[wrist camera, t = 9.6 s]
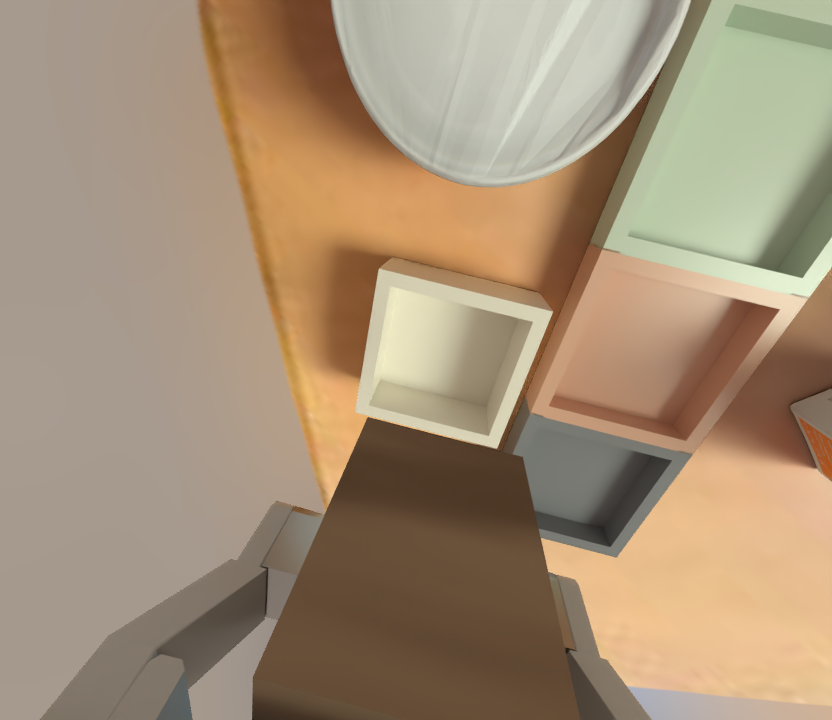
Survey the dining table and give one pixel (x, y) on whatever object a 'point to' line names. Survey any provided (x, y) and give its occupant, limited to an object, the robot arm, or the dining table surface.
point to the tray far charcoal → (590, 480)
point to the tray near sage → (735, 150)
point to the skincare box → (817, 428)
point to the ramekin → (502, 77)
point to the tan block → (420, 594)
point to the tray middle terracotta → (654, 349)
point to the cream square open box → (448, 350)
